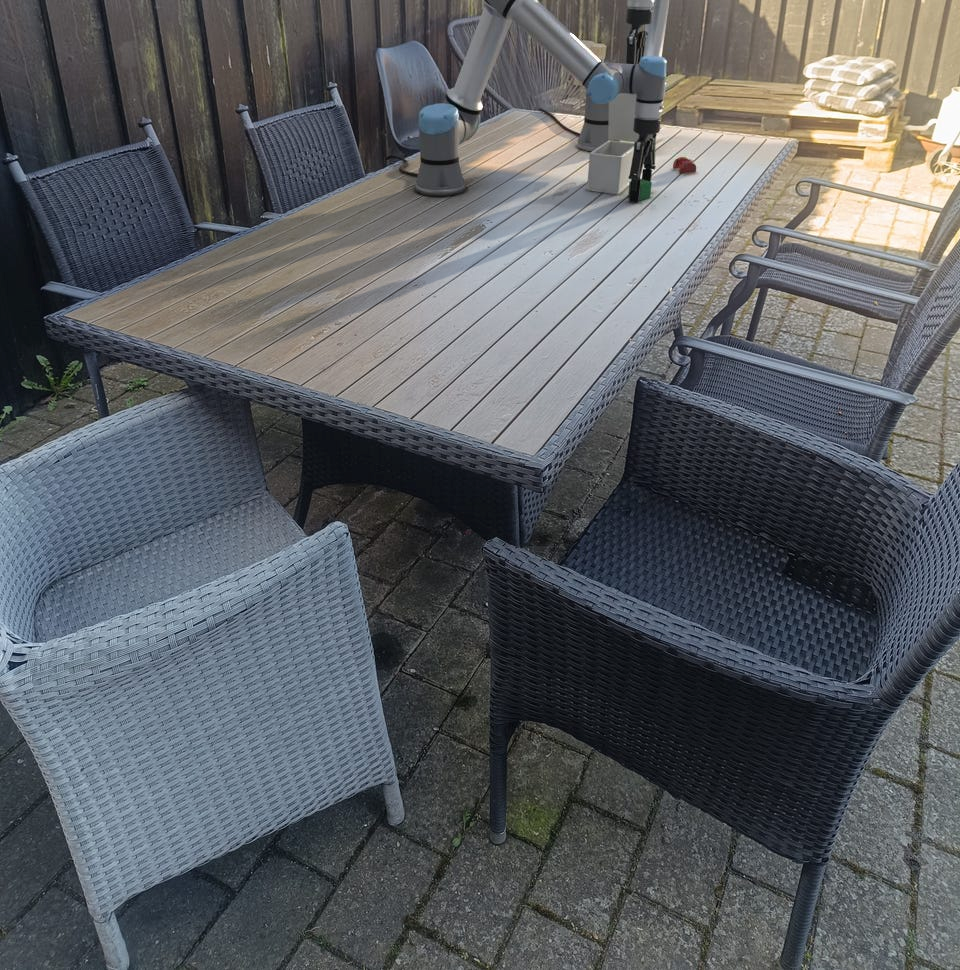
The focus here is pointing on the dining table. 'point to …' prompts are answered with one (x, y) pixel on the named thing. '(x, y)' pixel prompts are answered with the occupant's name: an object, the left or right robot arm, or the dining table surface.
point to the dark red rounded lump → (684, 165)
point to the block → (643, 189)
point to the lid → (622, 118)
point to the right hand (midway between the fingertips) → (631, 95)
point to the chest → (610, 167)
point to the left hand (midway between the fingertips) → (639, 196)
